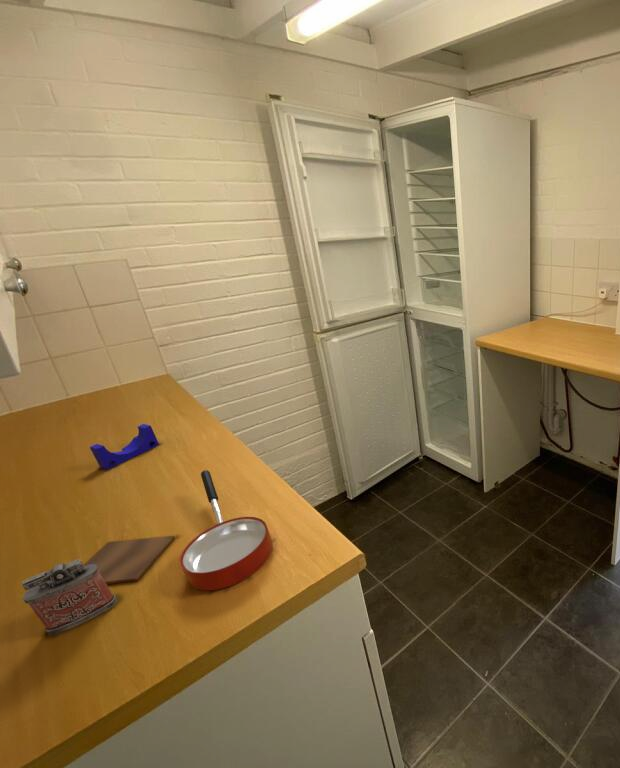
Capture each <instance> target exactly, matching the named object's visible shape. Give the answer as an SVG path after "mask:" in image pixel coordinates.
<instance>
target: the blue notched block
mask: <svg viewBox="0 0 620 768" xmlns="http://www.w3.org/2000/svg"><path fill="white" fill-rule="evenodd" d="M137 430H138V435H136V436H134V437H133V438H132V440H131V441H130V442H129V443H128V444H127V445H126V446H124V447H122V448H121V451H116V452H115V451H114V452H111V451H109V450H108V449H107V448H106V447H105V445H102V444H98V443H95V444H93V445H90V446H89V449H90V451H91V453H92V455H93V456H94V458H95V461H96V462H97V464H98V466H99V468H101V469H104V470H110V469H111V468H115V467H116V466H118V465H120V464H122V463H125V462H126V461H128V460H131V459H133V458H135V457H138V456H139V455H141V454H143V453H145V452H147V451H149V450H151V449H154V448H155V447H158V446H159V445H160V442H159V441H158V439H157V436H156V434H155V432H154V430H153V427H152V426H151V425H150V424H146V423H143V424H140V425H138V426H137Z"/></svg>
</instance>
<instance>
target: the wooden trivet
mask: <svg viewBox="0 0 620 768" xmlns="http://www.w3.org/2000/svg"><path fill="white" fill-rule="evenodd" d="M175 538H176V537H175V535H168V536H167V535H166V536H159V537H158V536H157V537H148V538H137V539H128V540H127V539H126V540H119V541H116V540H115V541H108V542H106V543H105V544H104V545H103V546H102V547H101V548H100V549H99V550H98V551H97V552H96V553H95V554H94V555H93V556H92V557H90V559H88V561H87V562H85V563H84V564H83V567H84V566H87V565H90V564H96V565H97V566H98V568H99V573H100V574H101V576H102V578H103V579H104V581H105V583H106V584H107V585H111V584H121V583H129V582H138V581H139V580H140V579H141V578H142V577H143V576H144V575H145V574H146V573H147V571H148V570H149V569H150V567H152V566H153V564H154V563H155V562H156V561H157V559H159V558H160V557H161V555H162V554H163V553H164V552H165V550H166V549H167V548H168V547H169V546H170V545H171V544H172V542H173V541H174V540H175Z"/></svg>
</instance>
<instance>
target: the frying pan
mask: <svg viewBox="0 0 620 768" xmlns="http://www.w3.org/2000/svg"><path fill="white" fill-rule="evenodd" d="M200 477H201V480H202V484H203V488H204V490H205V493H206V497H207V501H208V503H209V504H210V505H211V508H212V511H213V515H214V519H215V521H216V524H215V525H213V526H211V527H209V528H207V529H206V530H204V531H202V532H201V533H199V534H198V535H197V536H195V537H194V538H193V539H192V540H191V541H190V542H189V543H188V544H187V545H186V546H185V548H184V549H183V551H182V552H181V554H180V557H179V565H180V567H181V569H182V570H183V573H184V575H185V577H186V579H187V582H188V583H189V584H190V585H191V586H192V587H194V589H197V590H200V591H216V590H221V589H225V588H228V587H231V586H234V585H236V584H238V583H241V582H242V581H244V580H246V579H247V578H250V577H251V576H253V574H254V573H257V571H259V569H260V568H261V567H263V565H265V564H266V562H267V561H268V560H269V558H270V556H271V554H272V551H273V547H274V544H273V539H272V537H271V534H270V531H269V528H268V526H267V523H266V521H264V519H261V518H259V517H256V516H241V517H235V518H231V519H228V520H224V516H223V512H222V511H221V507H220V504H219V496H218V493H217V491H216V487H215V484H214V481H213V478H212V475H211V472H210V470H207V469H205V470H203V471H201V472H200Z"/></svg>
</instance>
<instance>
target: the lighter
mask: <svg viewBox="0 0 620 768" xmlns="http://www.w3.org/2000/svg"><path fill="white" fill-rule="evenodd" d="M83 565H84V564H83V562H82V560H81V559H80V558H77V559H75V560H72V561H70V562H67V563H56V564H55V565H54V566H52V568H51V569H50V570H48V571H43V572H41V573H38V574H36V575H34V576H31V577H29V578H26V579H24V580H22V581H23V582H22V583H21V586H22V587H23V589H24V590H25V591H26V592H25V593H24V594H23V595H22V600H23V602H24V603H25V604H27V605H29V607H30V608H31V609H32V611H33V612H34V614H35V615H36V616H37V618H38V619H39V621H40V622H41V623H42V625H43V626H44V630H45V632H46V633H47V634H48V635H49V636H55V635H56V634H59V633H62V632H65V631H67V630H69V629H70V630H71V629H72V628H74V627H76V626H79V625H81V624H83V623H85V622H87V621H89V620H91V619H93V618H95V617H97V616H98V615H99V616H100V615H101V614H103V613H105V612H106V611H108V610H110V609H111V608H113V607H114V606H115V605H116V603H117V602H118V598H117V596H116V595H115V593H112V591H111V590H110V589H111V588H109V586H108V584H106V583H105V581H104V579H103V578H102V576H101V574H100V573H99V568H98V566H97V565H96V564H90V565H87V566H84V567H83Z"/></svg>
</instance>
